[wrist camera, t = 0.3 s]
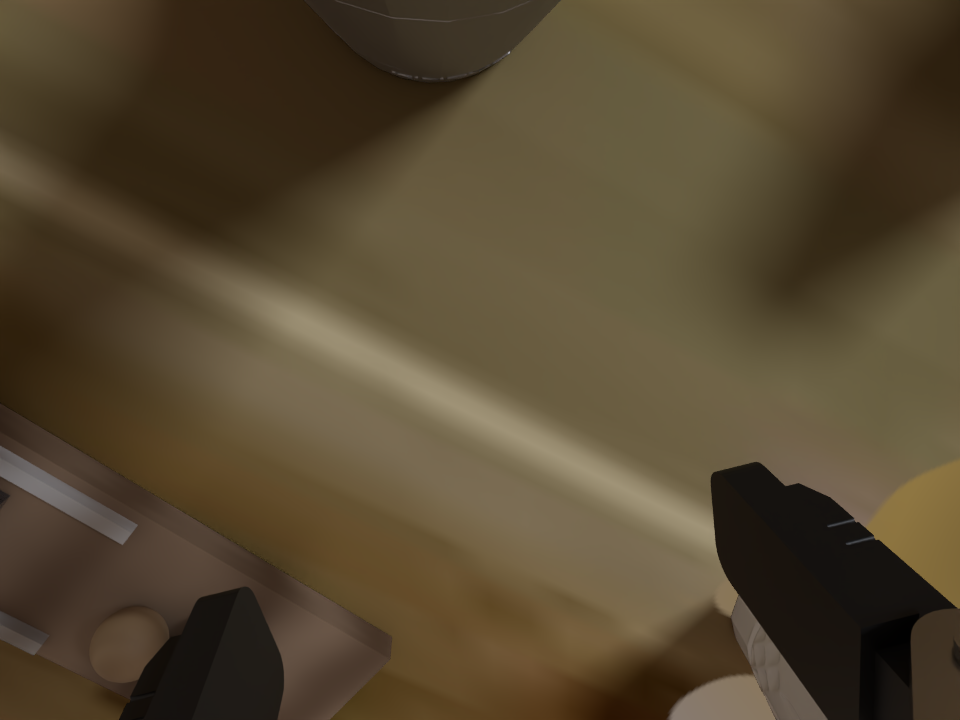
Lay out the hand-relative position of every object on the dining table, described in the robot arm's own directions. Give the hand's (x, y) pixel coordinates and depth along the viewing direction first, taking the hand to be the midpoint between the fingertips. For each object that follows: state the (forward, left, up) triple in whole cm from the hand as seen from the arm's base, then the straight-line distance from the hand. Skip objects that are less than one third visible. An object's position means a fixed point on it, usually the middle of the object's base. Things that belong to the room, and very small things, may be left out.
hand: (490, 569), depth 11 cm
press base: (+9, -21, -18) cm, 29 cm away
